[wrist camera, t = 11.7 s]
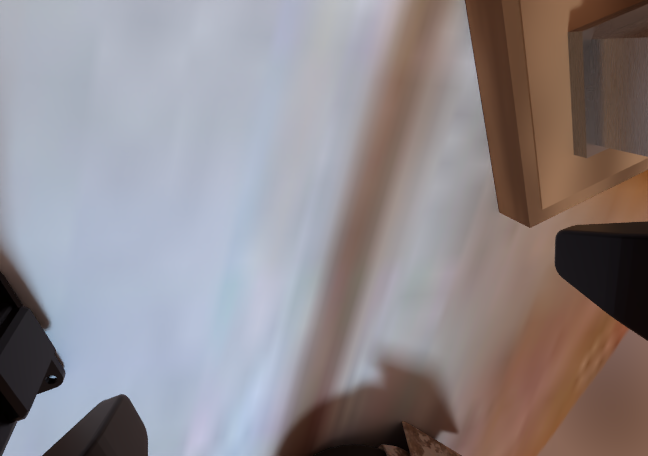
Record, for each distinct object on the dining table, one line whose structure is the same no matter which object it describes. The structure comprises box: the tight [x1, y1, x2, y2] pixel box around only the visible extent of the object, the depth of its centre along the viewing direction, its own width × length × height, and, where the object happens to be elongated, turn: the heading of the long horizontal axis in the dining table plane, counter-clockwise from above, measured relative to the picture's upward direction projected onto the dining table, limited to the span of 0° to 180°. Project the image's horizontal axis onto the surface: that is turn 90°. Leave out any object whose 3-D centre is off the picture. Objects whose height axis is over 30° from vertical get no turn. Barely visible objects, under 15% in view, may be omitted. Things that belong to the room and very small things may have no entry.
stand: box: [465, 0, 648, 228], centre depth 22 cm, size 12×12×3 cm
